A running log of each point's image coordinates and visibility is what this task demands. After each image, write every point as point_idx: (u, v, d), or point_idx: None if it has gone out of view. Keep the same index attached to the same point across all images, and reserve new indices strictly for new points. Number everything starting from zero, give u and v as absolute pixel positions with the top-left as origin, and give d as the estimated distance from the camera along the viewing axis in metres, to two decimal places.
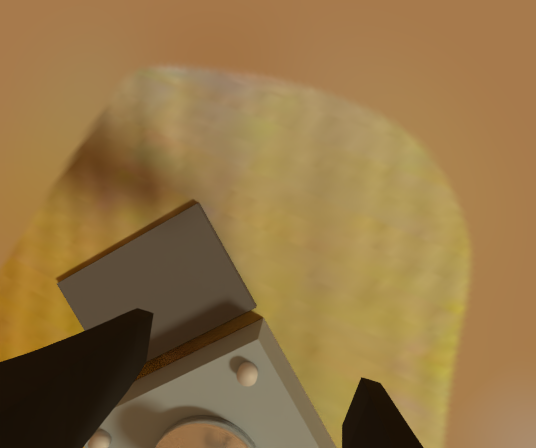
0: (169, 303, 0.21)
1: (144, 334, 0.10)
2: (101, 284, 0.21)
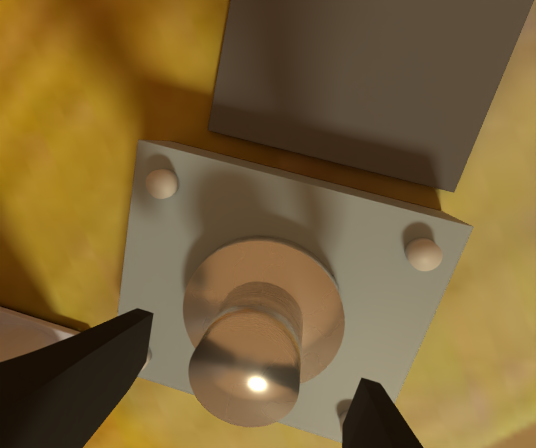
0: (361, 98, 0.14)
1: (145, 334, 0.10)
2: None
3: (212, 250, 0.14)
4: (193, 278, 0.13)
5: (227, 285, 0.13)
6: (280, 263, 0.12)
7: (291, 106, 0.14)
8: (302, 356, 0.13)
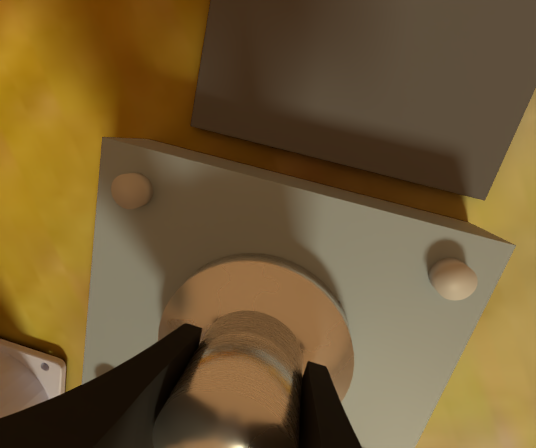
0: (374, 86, 0.11)
1: (195, 349, 0.10)
2: None
3: (194, 270, 0.11)
4: (170, 306, 0.11)
5: (210, 314, 0.10)
6: (275, 289, 0.10)
7: (289, 97, 0.12)
8: None
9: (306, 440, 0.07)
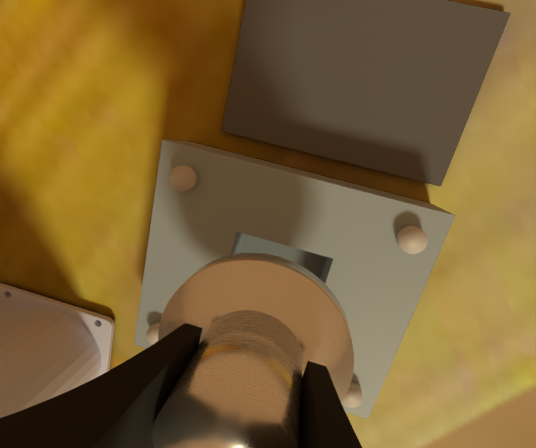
0: (358, 102, 0.15)
1: (194, 349, 0.10)
2: (305, 11, 0.15)
3: (226, 237, 0.15)
4: (170, 305, 0.11)
5: (210, 314, 0.11)
6: (275, 289, 0.10)
7: (296, 109, 0.16)
8: None
9: (306, 440, 0.07)
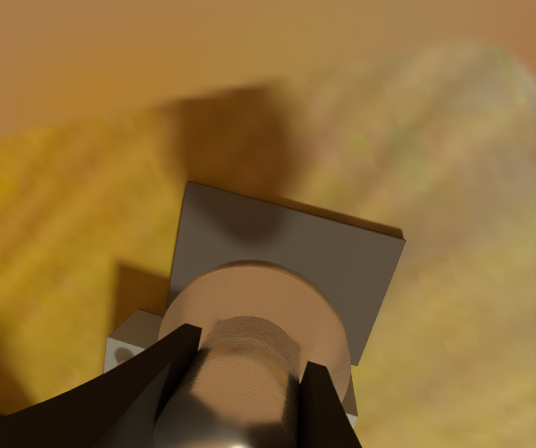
0: None
1: (194, 349, 0.10)
2: (233, 223, 0.17)
3: None
4: (170, 311, 0.11)
5: (210, 320, 0.11)
6: (273, 294, 0.10)
7: None
8: None
9: (306, 440, 0.07)
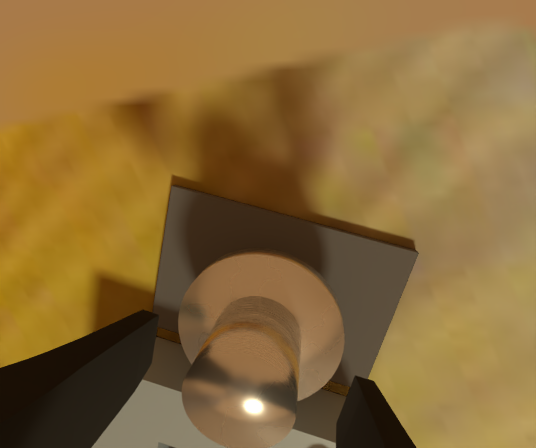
0: None
1: (150, 336, 0.10)
2: (223, 232, 0.15)
3: (149, 445, 0.16)
4: (189, 292, 0.13)
5: (223, 299, 0.12)
6: (278, 278, 0.12)
7: None
8: (300, 372, 0.13)
9: None
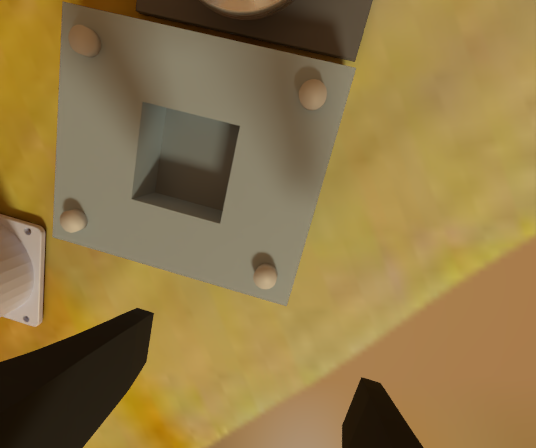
0: None
1: (144, 334, 0.10)
2: None
3: (133, 108, 0.15)
4: None
5: None
6: None
7: None
8: None
9: None
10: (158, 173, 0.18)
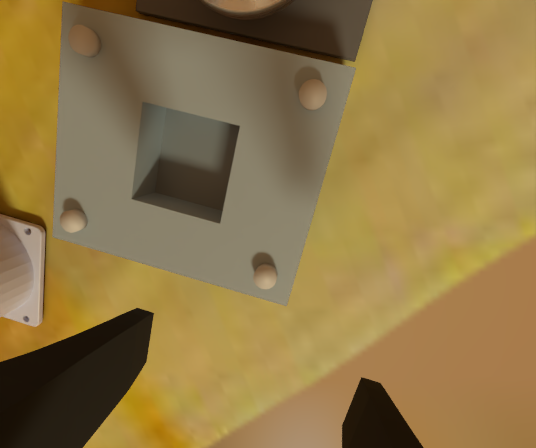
0: None
1: (144, 334, 0.10)
2: None
3: (133, 108, 0.15)
4: None
5: None
6: None
7: None
8: None
9: None
10: (158, 173, 0.18)
